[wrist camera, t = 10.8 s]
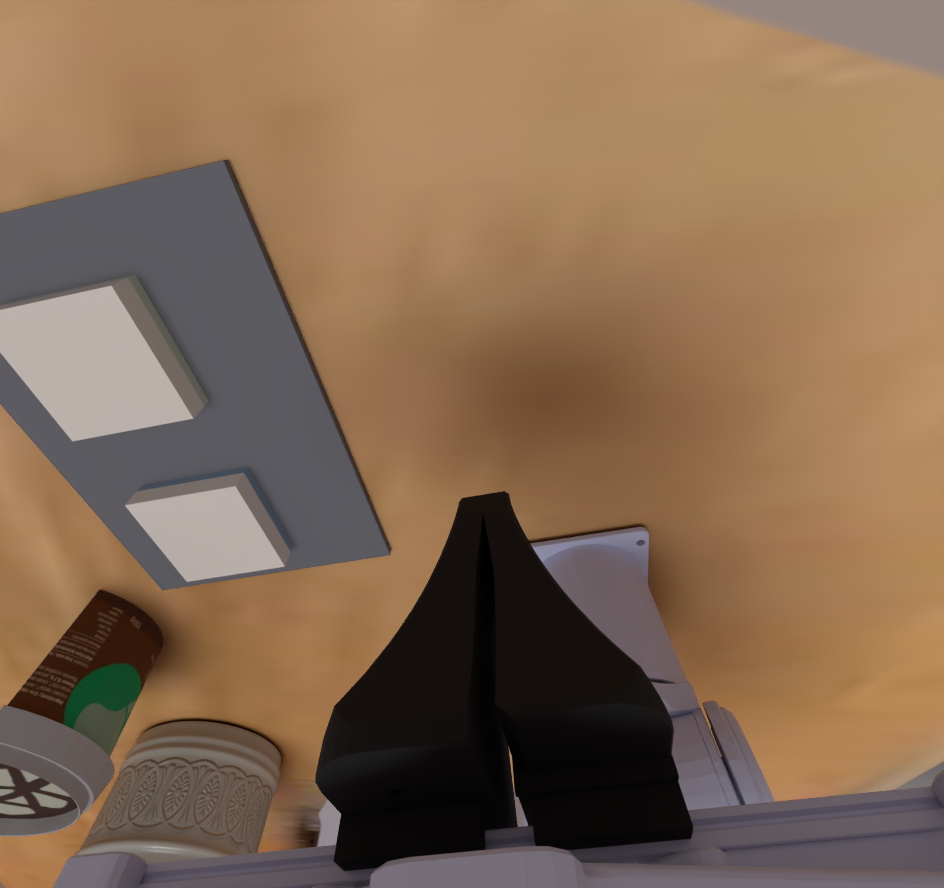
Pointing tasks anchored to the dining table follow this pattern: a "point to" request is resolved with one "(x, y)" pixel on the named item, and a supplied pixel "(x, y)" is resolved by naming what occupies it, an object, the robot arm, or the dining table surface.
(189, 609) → the dining table surface
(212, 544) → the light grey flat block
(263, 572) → the mat
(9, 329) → the tile sage
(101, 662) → the food container
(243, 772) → the jar
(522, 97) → the dining table surface
